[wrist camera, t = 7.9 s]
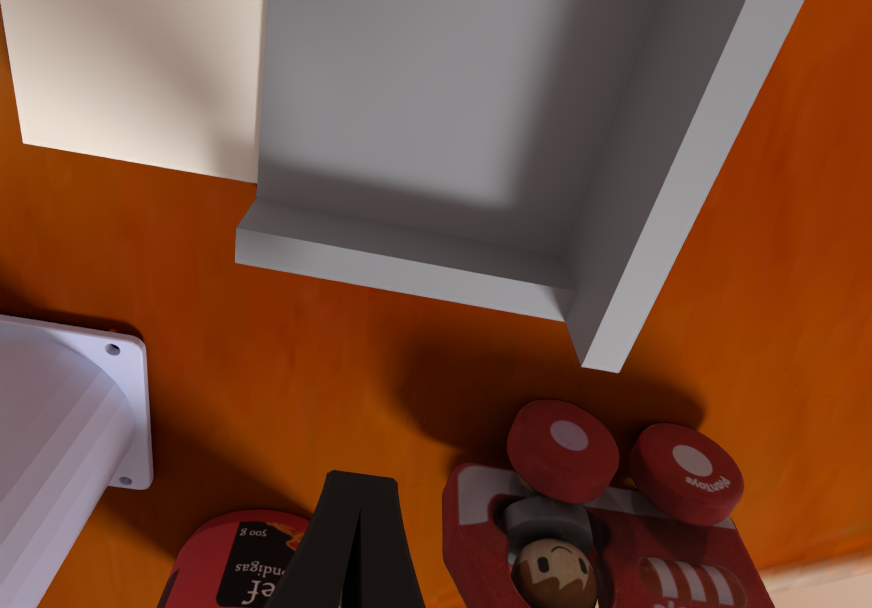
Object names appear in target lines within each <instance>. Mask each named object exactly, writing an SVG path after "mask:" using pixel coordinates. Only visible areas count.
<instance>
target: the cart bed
mask: <svg viewBox="0 0 872 608" xmlns="http://www.w3.org/2000/svg"><path fill="white" fill-rule="evenodd" d="M803 2H804V0H268V2H267V20H266V37H265V55H264V73H263V90H262V108H261V125H260V143H259V161H258V178H257V196H256V199H255V201H254V202H253V204H252V205H251V207H250V208H249V210H248V211H247V213H246V214H245V216H244V217H243V219H242V220H241V222H240V223H239V225H238V226H237V228H236V249H235V263H240V264H245V265H251V266H256V267H262V268H267V269H273V270H279V271H284V272H290V273H295V274H301V275H306V276H312V277H318V278H323V279H329V280H334V281H340V282H346V283H351V284H357V285H362V286H368V287H373V288H379V289H385V290H390V291H396V292H401V293H407V294H412V295H418V296H424V297H429V298H435V299H440V300H446V301H451V302H457V303H463V304H468V305H474V306H479V307H485V308H490V309H496V310H502V311H507V312H513V313H518V314H524V315H529V316H535V317H541V318H546V319H552V320H557V321H563V322H565V324H566V326H567V329H568V332H569V334H570V337H571V340H572V343H573V345H574V348H575V351H576V353H577V356H578V359H579V362H580V364H581V367H586V368H592V369H598V370H603V371H609V372H615V373H619V372H620V370H621V368H622V366H623V364H624V362H625V360H626V358H627V356H628V354H629V352H630V350H631V348H632V346H633V344H634V342H635V340H636V338H637V336H638V334H639V332H640V330H641V328H642V326H643V324H644V322H645V320H646V318H647V316H648V314H649V312H650V310H651V308H652V306H653V304H654V302H655V300H656V298H657V296H658V294H659V292H660V290H661V288H662V286H663V284H664V281H665V279H666V277H667V275H668V273H669V271H670V269H671V267H672V265H673V263H674V261H675V259H676V257H677V255H678V253H679V251H680V249H681V247H682V245H683V243H684V241H685V239H686V237H687V235H688V233H689V231H690V229H691V227H692V225H693V223H694V221H695V219H696V217H697V215H698V213H699V211H700V209H701V207H702V205H703V203H704V201H705V199H706V197H707V195H708V193H709V191H710V189H711V187H712V185H713V183H714V181H715V179H716V177H717V175H718V173H719V171H720V169H721V167H722V165H723V163H724V161H725V159H726V157H727V155H728V153H729V151H730V149H731V147H732V145H733V143H734V141H735V139H736V137H737V135H738V133H739V131H740V128H741V126H742V124H743V122H744V120H745V118H746V116H747V114H748V112H749V110H750V108H751V106H752V104H753V102H754V100H755V98H756V96H757V94H758V92H759V90H760V88H761V86H762V84H763V82H764V80H765V78H766V76H767V74H768V72H769V70H770V68H771V66H772V64H773V62H774V60H775V58H776V56H777V54H778V52H779V50H780V48H781V46H782V44H783V42H784V40H785V38H786V36H787V34H788V32H789V30H790V28H791V26H792V24H793V22H794V20H795V18H796V16H797V14H798V12H799V10H800V8H801V6H802V4H803Z"/></svg>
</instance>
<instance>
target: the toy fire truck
mask: <svg viewBox="0 0 872 608" xmlns="http://www.w3.org/2000/svg"><path fill="white" fill-rule="evenodd" d="M507 453H508V456H509V459H510V462H511V464H512V466H513V468H514V469H508V468H503V467H496V466H490V465H484V464H478V463H467V462H466V463H463V464H460V465H458V466H457V467H456V468H455V469H454V470H453V471H452V473H451V474H450V476H449V479H448V481H447V483H446V486H445V488H444V491H443V494H442V531H443V560H444V563H445V566H446V567H447V569H448V571H449V573H450V575H451V577H452V579H453V581H454V583H455V584H456V586H457V589H458V591H459V593H460V595H461V597H462V599H463V601H464V603H465V605H466V607H467V608H595V606H596V602H597V599H598V604H599V608H775V607H774V604H773V603H772V601H771V599H770V597H769V594H768V592H767V590H766V588H765V586H764V584H763V582H762V580H761V578H760V576H759V574H758V572H757V570H756V568H755V566H754V564H753V561H752V559H751V557H750V555H749V553H748V551H747V549H746V548H745V546H744V543H743V541H742V539H741V537H740V535H739V532H738V530H737V528H736V526H735V524H734V522H733V520H732V519H731V518H730V516H729V514H730V513H731V512H732V510H733V509H734V508H735V507H736V505H737V504H738V503H739V501H740V499H741V498H742V495H743V490H744V481H743V477H742V474H741V472H740V470H739V468H738V466H737V465H736V463H735V462H734V460H733V459H732V458H731V457H730V455H729V454H728V453H727V452H726V451H725V450H723V449H722V448H721V447H720V446H719V445H718V444H717V443H715V442H714V441H712V440H711V439H710V438H708V437H706V436H705V435H703V434H701V433H699V432H697V431H695V430H693V429H690V428H688V427H685V426H681V425H678V424H670V423H658V424H654V425H651V426H649V427H647V428H646V429H645V430H643V431H642V433H641V434H640V435H639V437H638V439H637V441H636V443H635V445H634V446H633V448H632V450H631V452H630V455H629V459H628V468H629V472H630V475H631V477H632V480H633V482H634V483H635V485H636V486H637V488H626V487H619V486H613V485H609V483H610V482H611V480H612V478H613V477H614V475H615V473H616V472H617V469H618V465H619V451H618V448H617V445H616V442H615V440H614V438H613V436H612V435H611V433H610V432H609V430H608V429H607V428H606V427H605V426H604V425H603V424H602V423H601V422H600V421H599V420H598V419H597V418H595V417H594V416H593V415H591V414H590V413H588V412H587V411H585V410H583V409H581V408H579V407H577V406H575V405H573V404H570V403H567V402H564V401H559V400H536V401H533V402H530V403H528V404H527V405H525V406H524V407H523V408H522V409H521V410H520V411H519V412H518V414H517V415H516V418H515V420H514V422H513V425H512V427H511V429H510V432H509V434H508V438H507Z"/></svg>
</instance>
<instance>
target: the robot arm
mask: <svg viewBox="0 0 872 608" xmlns="http://www.w3.org/2000/svg"><path fill="white" fill-rule="evenodd" d="M111 344H114V345H116V346H118V347H119V349H117V348H114V347H113V346H112V345H111ZM153 478H154V476H153V459H152V443H151V426H150V409H149V393H148V376H147V359H146V347H145V344H144V343H143V342H142V341H141V340H140V339H139V338H137V337H135V336H132V335H126V334H120V333H114V332H107V331H101V330H95V329H89V328H82V327H76V326H70V325H64V324H57V323H51V322H45V321H39V320H32V319H26V318H20V317H14V316H7V315H1V314H0V608H36V607H37V605H38V604H39V602H40V600H41V599H42V597H43V595H44V593H45V592H46V590H47V588H48V587H49V585H50V583H51V581H52V580H53V578H54V576H55V575H56V573H57V571H58V570H59V568H60V566H61V564H62V563H63V561H64V559H65V558H66V556H67V554H68V552H69V551H70V549H71V547H72V546H73V544H74V542H75V541H76V539H77V537H78V535H79V534H80V532H81V530H82V529H83V527H84V525H85V523H86V522H87V520H88V518H89V517H90V515H91V513H92V512H93V510H94V508H95V506H96V505H97V503H98V501H99V500H100V498H101V496H102V494H103V493H104V491H105V489H106V488H107V486H114V487H122V488H129V489H137V490H144V489H147V488H148V487H150V485H151V483H152V481H153ZM341 593H342V600H341V608H426V607H425V604H424V601H423V598H422V594H421V591H420V588H419V584H418V581H417V577H416V574H415V570H414V567H413V563H412V559H411V556H410V552H409V548H408V543H407V539H406V534H405V530H404V525H403V520H402V515H401V509H400V502H399V495H398V483H397V482H396V481H395V480H394V479H393V478H388V477H380V476H373V475H366V474H358V473H351V472H344V471H337V470H333V471H331V472H329V473H327V476H326V480H325V484H324V487H323V490H322V493H321V496H320V499H319V501H318V504H317V506H316V509H315V511H314V514H313V516H312V518H311V520H310V522H309V525H308V527H307V529H306V531H305V533H304V535H303V537H302V539H301V541H300V543H299V545H298V547H297V549H296V551H295V553H294V555H293V556H292V558H291V560H290V562H289V564H288V566H287V568H286V570H285V571H284V573H283V575H282V577H281V578H280V580H279V582H278V583H277V585H276V587H275V589H274V590H273V592H272V594H271V595H270V597H269V599H268V600H267V602H266V604H265V605H264V607H263V608H338V606H339V602H340V598H341Z"/></svg>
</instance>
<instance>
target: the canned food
mask: <svg viewBox="0 0 872 608" xmlns="http://www.w3.org/2000/svg"><path fill="white" fill-rule="evenodd" d="M309 522H310V520H308V519H306V518H303V517H300V516H297V515H294V514H291V513H286V512H281V511H275V510H264V509H256V510H242V511H236V512H230V513H227V514H224V515H221V516H218V517H215V518H213V519H211V520H209V521H207V522H206V523H204V524H203V525H202V526H201V527H199V528H198V529H197V530H196V531H195V532H194V533H193V535H192V536H191V537H190V538H189V540H188V541H187V542H186V543H185V545H184V546H183V548H182V549H181V550H180V552H179V554H178V557H177V559H176V562H175V564H174V566H173V569H172V571H171V574H170V576H169V579H168V581H167V583H166V586H165V588H164V591H163V593H162V596H161V598H160V601H159V603H158V605H157V608H263V607H264V605H265V604H266V602H267V600H268V599H269V597H270V595H271V594H272V592H273V590H274V589H275V587H276V585H277V583H278V582H279V580H280V578H281V577H282V575H283V573H284V571H285V570H286V568H287V566H288V564H289V562H290V560H291V558H292V556H293V555H294V553H295V551H296V549H297V547H298V545H299V543H300V541H301V539H302V537H303V535H304V533H305V531H306V529H307V527H308V525H309ZM341 600H342V593H341V598H340V602H339V606H338V608H341Z"/></svg>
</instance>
